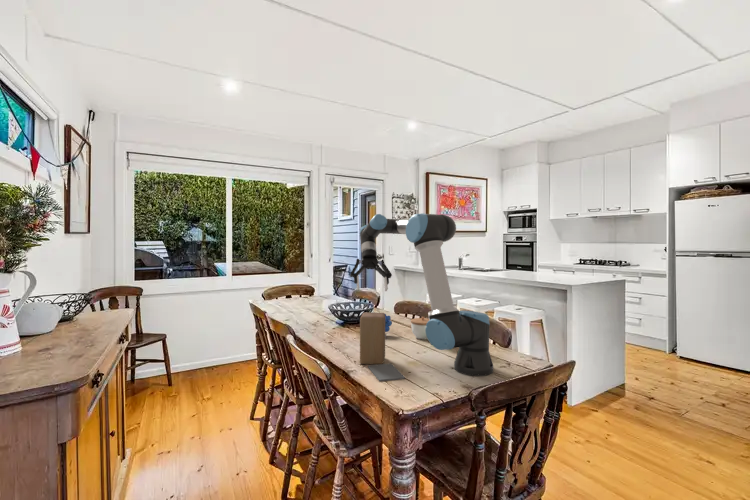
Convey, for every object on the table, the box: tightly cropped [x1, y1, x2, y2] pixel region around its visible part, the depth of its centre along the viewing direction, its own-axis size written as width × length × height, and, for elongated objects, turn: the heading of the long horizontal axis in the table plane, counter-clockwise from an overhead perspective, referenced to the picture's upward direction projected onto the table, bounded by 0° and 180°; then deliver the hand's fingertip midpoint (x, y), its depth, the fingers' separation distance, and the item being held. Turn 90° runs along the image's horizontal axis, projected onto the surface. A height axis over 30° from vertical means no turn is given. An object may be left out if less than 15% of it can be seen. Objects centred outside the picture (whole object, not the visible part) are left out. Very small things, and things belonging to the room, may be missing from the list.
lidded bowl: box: [410, 316, 429, 340], centre depth 196 cm, size 13×13×11 cm
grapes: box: [385, 313, 393, 333], centre depth 200 cm, size 12×7×12 cm, turn 111°
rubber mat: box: [367, 363, 406, 382], centre depth 144 cm, size 16×10×1 cm, turn 16°
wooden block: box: [359, 311, 386, 365], centre depth 157 cm, size 10×10×20 cm
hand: (372, 289), depth 174 cm, fingers open, 13 cm apart
